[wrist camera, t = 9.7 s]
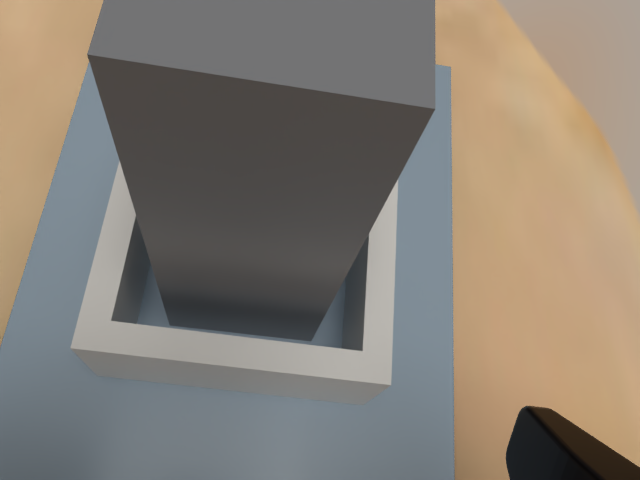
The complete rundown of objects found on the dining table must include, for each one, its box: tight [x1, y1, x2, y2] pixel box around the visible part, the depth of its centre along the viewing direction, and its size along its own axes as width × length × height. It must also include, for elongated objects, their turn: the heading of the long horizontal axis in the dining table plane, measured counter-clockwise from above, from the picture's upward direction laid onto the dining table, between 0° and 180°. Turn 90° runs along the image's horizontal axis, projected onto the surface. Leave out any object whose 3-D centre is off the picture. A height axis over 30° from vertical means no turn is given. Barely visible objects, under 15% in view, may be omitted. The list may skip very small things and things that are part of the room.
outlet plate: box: [0, 62, 455, 480], centre depth 19 cm, size 20×14×4 cm
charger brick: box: [87, 0, 435, 341], centre depth 14 cm, size 4×4×12 cm
